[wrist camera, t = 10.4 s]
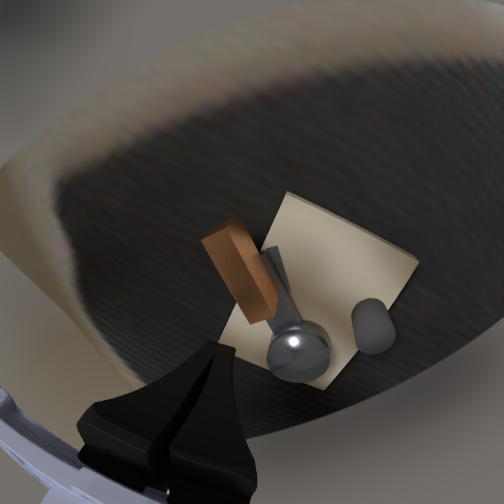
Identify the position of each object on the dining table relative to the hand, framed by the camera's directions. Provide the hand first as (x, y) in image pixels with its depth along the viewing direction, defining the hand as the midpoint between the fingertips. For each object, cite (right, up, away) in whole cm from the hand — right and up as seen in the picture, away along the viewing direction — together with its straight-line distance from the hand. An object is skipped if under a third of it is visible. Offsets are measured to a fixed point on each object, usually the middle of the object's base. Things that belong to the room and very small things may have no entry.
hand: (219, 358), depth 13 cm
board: (+5, +2, +6) cm, 8 cm away
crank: (+3, +2, +5) cm, 6 cm away
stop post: (+9, +1, +5) cm, 11 cm away
